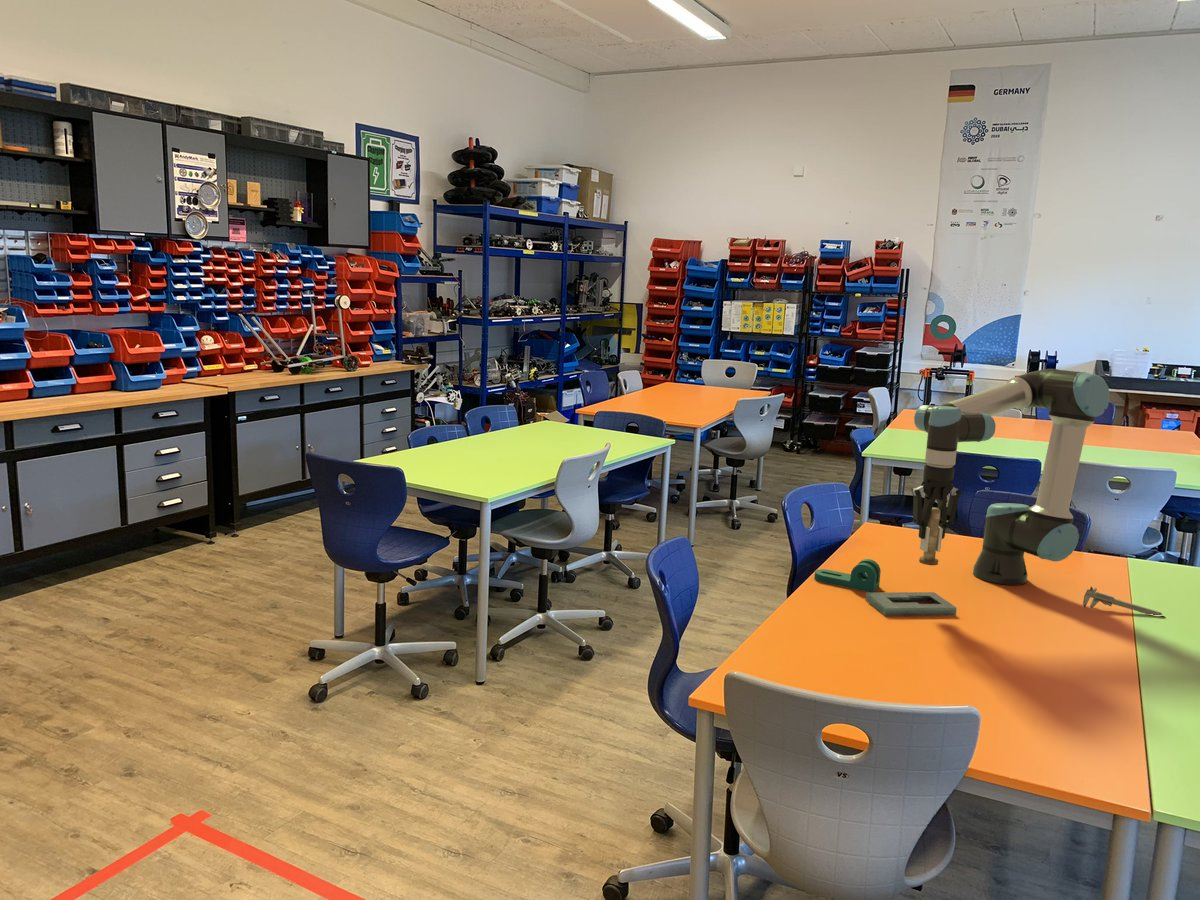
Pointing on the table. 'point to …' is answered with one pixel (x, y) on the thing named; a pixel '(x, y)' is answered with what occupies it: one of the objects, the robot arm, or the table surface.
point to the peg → (932, 538)
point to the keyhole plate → (910, 604)
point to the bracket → (853, 576)
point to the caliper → (1113, 602)
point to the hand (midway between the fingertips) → (930, 550)
